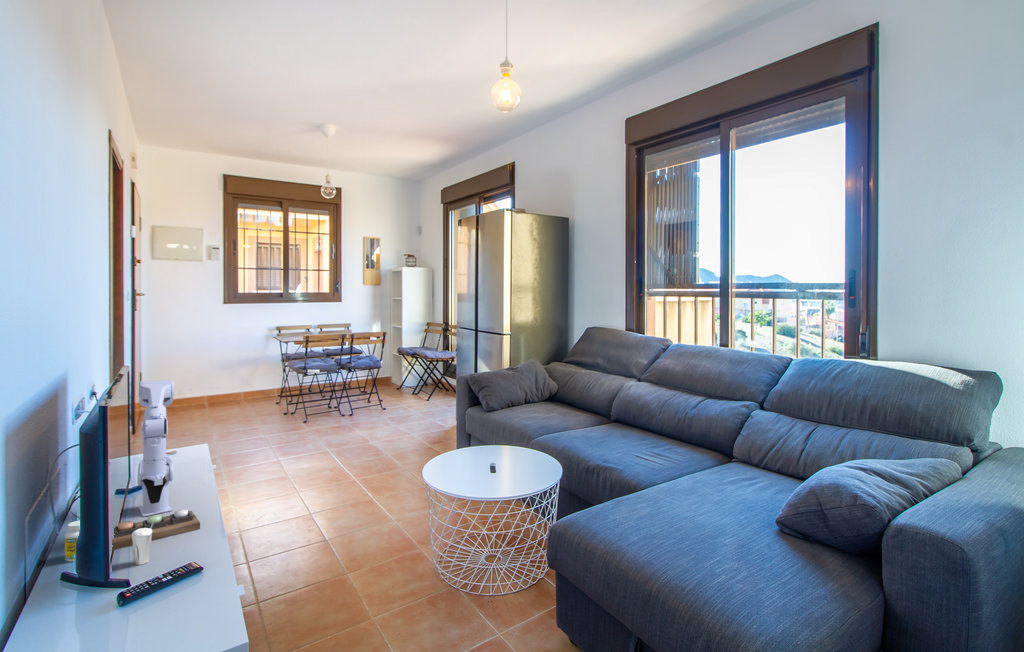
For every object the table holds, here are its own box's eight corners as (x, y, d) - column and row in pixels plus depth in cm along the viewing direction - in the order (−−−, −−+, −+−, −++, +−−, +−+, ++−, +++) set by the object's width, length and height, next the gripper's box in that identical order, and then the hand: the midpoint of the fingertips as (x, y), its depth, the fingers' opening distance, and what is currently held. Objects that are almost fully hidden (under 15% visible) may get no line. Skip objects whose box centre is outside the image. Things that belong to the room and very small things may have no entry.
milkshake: (159, 558, 138) (159, 522, 138) (139, 567, 133) (139, 530, 133) (147, 555, 140) (147, 520, 140) (127, 564, 135) (127, 527, 134)
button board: (106, 535, 151) (106, 524, 151) (191, 516, 166) (191, 506, 166) (110, 550, 142) (110, 538, 142) (200, 528, 157) (200, 517, 157)
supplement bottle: (91, 550, 142) (91, 517, 141) (88, 559, 137) (88, 524, 137) (66, 555, 139) (66, 521, 138) (62, 564, 134) (62, 528, 134)
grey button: (173, 516, 159) (173, 511, 159) (186, 513, 161) (186, 508, 161) (175, 519, 156) (175, 514, 156) (189, 516, 158) (189, 511, 158)
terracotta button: (117, 528, 149) (117, 523, 149) (132, 525, 151) (132, 519, 151) (118, 532, 146) (118, 527, 146) (134, 529, 149) (134, 523, 149)
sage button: (146, 522, 154) (146, 516, 154) (160, 518, 156) (160, 513, 156) (148, 525, 151) (148, 520, 151) (162, 522, 154) (162, 517, 154)
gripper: (135, 455, 156) (134, 498, 156) (142, 466, 145) (141, 512, 146) (162, 451, 160) (162, 493, 161) (171, 462, 150) (170, 506, 150)
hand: (154, 502), depth 154 cm, fingers closed
